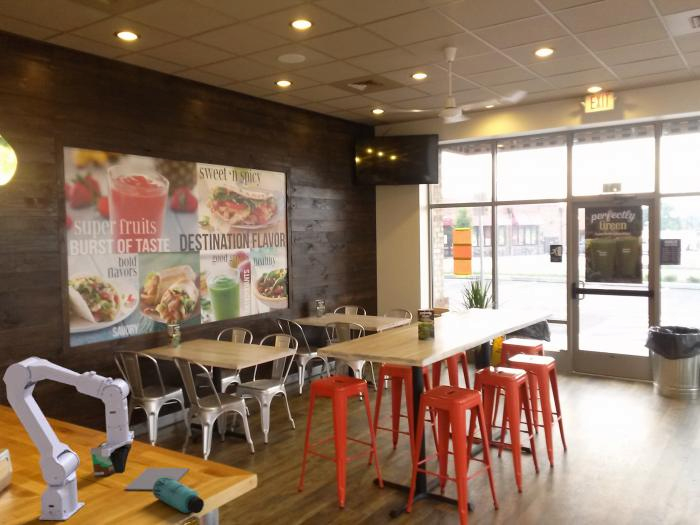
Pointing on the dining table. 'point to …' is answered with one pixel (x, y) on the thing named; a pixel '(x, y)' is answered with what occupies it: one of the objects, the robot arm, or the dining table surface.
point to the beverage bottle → (177, 495)
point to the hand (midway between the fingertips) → (120, 472)
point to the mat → (155, 477)
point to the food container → (101, 462)
